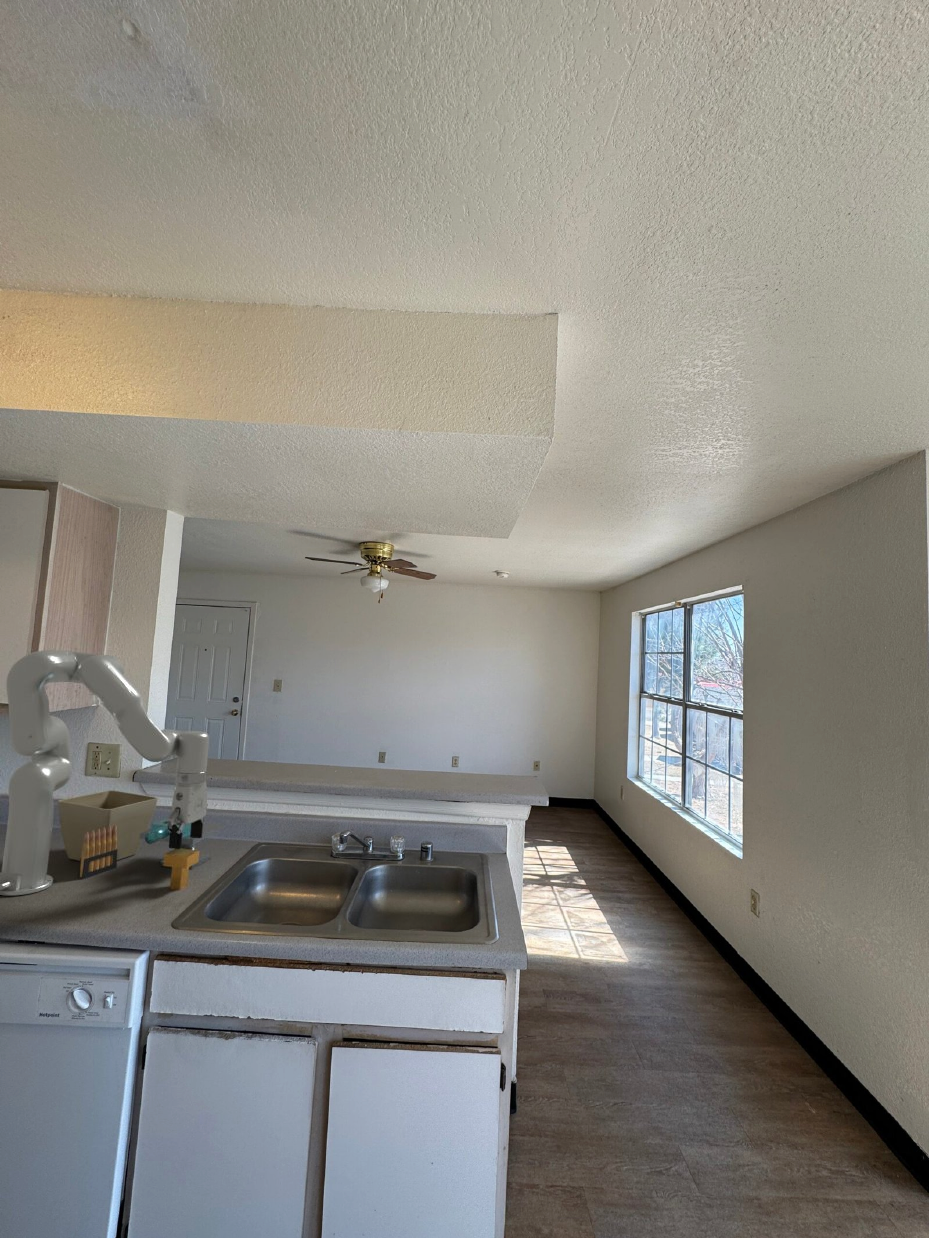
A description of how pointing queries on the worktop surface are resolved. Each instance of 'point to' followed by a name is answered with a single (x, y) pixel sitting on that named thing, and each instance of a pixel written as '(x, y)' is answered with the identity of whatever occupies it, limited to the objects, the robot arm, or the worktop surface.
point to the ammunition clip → (98, 853)
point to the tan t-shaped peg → (180, 865)
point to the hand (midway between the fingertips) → (185, 842)
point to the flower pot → (105, 819)
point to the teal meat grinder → (161, 833)
